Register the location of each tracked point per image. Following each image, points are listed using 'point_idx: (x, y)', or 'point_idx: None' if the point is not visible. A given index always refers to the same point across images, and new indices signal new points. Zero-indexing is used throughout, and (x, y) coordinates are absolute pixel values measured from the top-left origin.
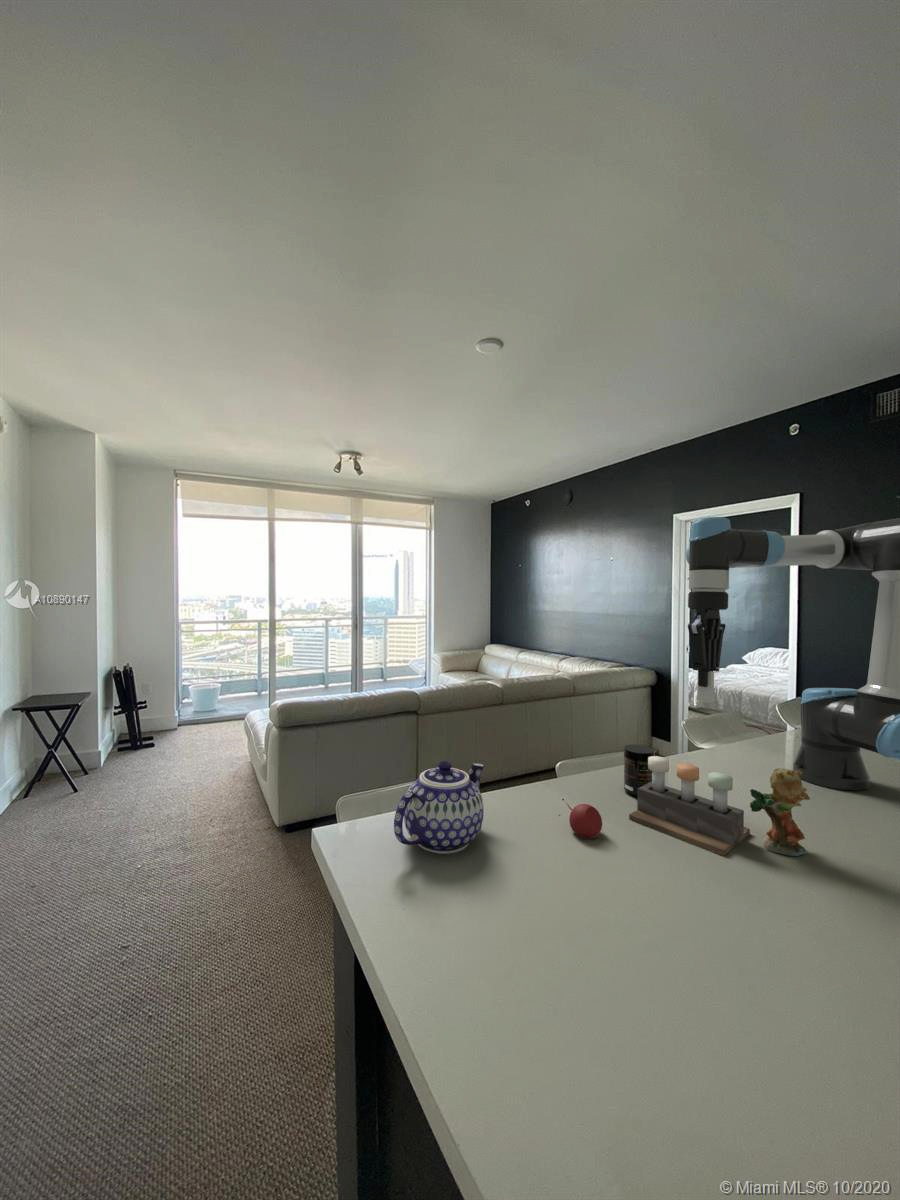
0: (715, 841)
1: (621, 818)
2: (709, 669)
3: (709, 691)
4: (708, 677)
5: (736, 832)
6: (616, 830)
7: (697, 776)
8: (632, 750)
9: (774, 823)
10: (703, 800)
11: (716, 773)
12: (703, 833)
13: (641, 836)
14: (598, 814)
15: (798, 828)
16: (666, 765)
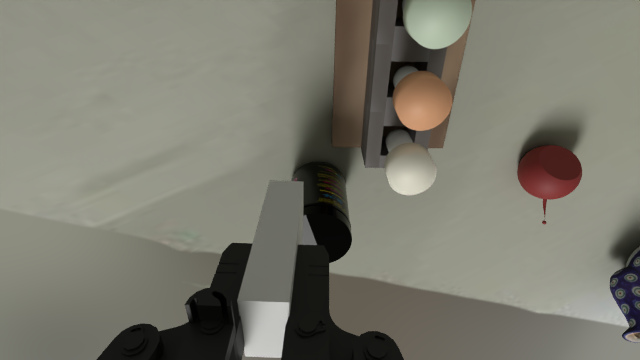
0: None
1: (445, 153)
2: (317, 323)
3: (299, 220)
4: (293, 283)
5: None
6: (496, 137)
7: (429, 74)
8: (341, 243)
9: None
10: (392, 52)
11: (424, 33)
12: None
13: (493, 100)
14: (544, 165)
15: None
16: (419, 151)
